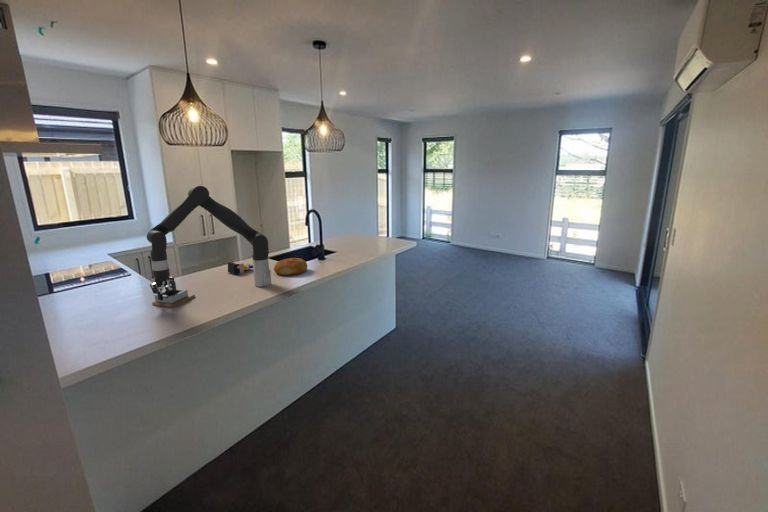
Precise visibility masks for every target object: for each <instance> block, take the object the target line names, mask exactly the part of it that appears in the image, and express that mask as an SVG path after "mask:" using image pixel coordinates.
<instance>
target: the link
mask: <svg viewBox="0 0 768 512" xmlns="http://www.w3.org/2000/svg"><path fill="white" fill-rule="evenodd" d="M176 290H177V294H174V295H173V292H172V289H171V290H170V292H171V296H170V295H166V292H165V291H166V290H162V294H163V300H162V301H161V300H158V295H157V294H154V301H156V302H160V303H170V304H174V303H176V302H178V301H180V300H182V299H184V298H186V297H188V294H189V292H188V289H183V288H181V289H180V288H176Z"/></svg>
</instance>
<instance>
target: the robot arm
mask: <svg viewBox="0 0 768 512" xmlns="http://www.w3.org/2000/svg"><path fill="white" fill-rule="evenodd" d="M198 207H201V208H202V209H204V210H205V211H207V212H208V213H209V214H210V215H212V216H213V217H214V218H215V219H216V220H218V221H219V222H221V223H222V224H223V225H224V226H226V227H227V228H228V229H230V230H231V231H234V233H237V234H239V235H241V237H243V238H244V239H245V240H246V241H248V242H249V243H250V244H251V246H252V265H253V268H252V269H253V277H254V278H253V279H254V286H255V287H258V288H263V287H265V288H266V287H269V286H271V284H272V275H271V274H272V273H271V269H270V265H269V251H270V250H269V240H268V238H267V236H266V235H264V234H263V233H262V232H259V231H257V230H255V229H254V228H253V227H252V226H250V225H249V224H248V223H247V222H246V220H244V219H243V218H242V217H241V216H240V215H239V214H237V213H236V212H235V211H234V210H232V209H231V208H229V207H228V206H226V205H223V204H221V203H219V202H217V201H216V200H214V199H213V198H212V197H211V196H210V191H209V190H208V188H207V187H205V186H204V185H195V186H192V187H191V188H190V189H189V190H188V191H187V198H186V199H184V200H183V201H182V203H180V204H179V205H178V206H177V207H176V208H175V209H174V210H172V211H171V212H170V213H169V214H168V215H167V216H166V217H165V218H163V220H161V222H160V223H158V224H157V225H155V226H153V228H151V229H150V230H149V231H148V232H147V235H146V240H147V241H148V242H149V243H150V244H151V250H150V261H151V270H152V271H151V272H152V277H153V278H154V282H153V283H150V284H149V286H150V288H151V291H152V292H153V294H154V295H156V294H157V295H158V300H161V301H162V300H163V294H162V292H163V291H165V292H166V295H170V296H171V292H170V290H171V289H172V288H173V286H174V281H175V277H173V276H171V272H170V264H169V260H168V254H167V244H168V242H167V235H168V234H169V233H172V232H173V231H175V230H176V229H177V228H178V227H179V226H180V225H181V224H182V222H184V221H185V219H186V218H187V217H188V216H189V215H190V214H191V213H192V212H193V211H194V210H195V209H196V208H198ZM164 289H165V290H164Z"/></svg>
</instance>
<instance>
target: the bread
mask: <svg viewBox="0 0 768 512" xmlns="http://www.w3.org/2000/svg"><path fill="white" fill-rule="evenodd" d="M306 270H308V262H307V261H305V260H304V259H303V258H299V257H289V258H284V259H281V260H278V261H277V262H276V263H275V264H274V267H273V271H274V273H275V274H277V275H280V276H294V275H295V276H296V275H301V274H302V273H304V272H306Z"/></svg>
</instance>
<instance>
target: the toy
mask: <svg viewBox="0 0 768 512" xmlns="http://www.w3.org/2000/svg"><path fill="white" fill-rule="evenodd" d="M250 269H253V264H249V263H244V262H240V261H228V262H227V272H228V273H229V274H231V275H238V274H244V273H245V271H248V270H250Z"/></svg>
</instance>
